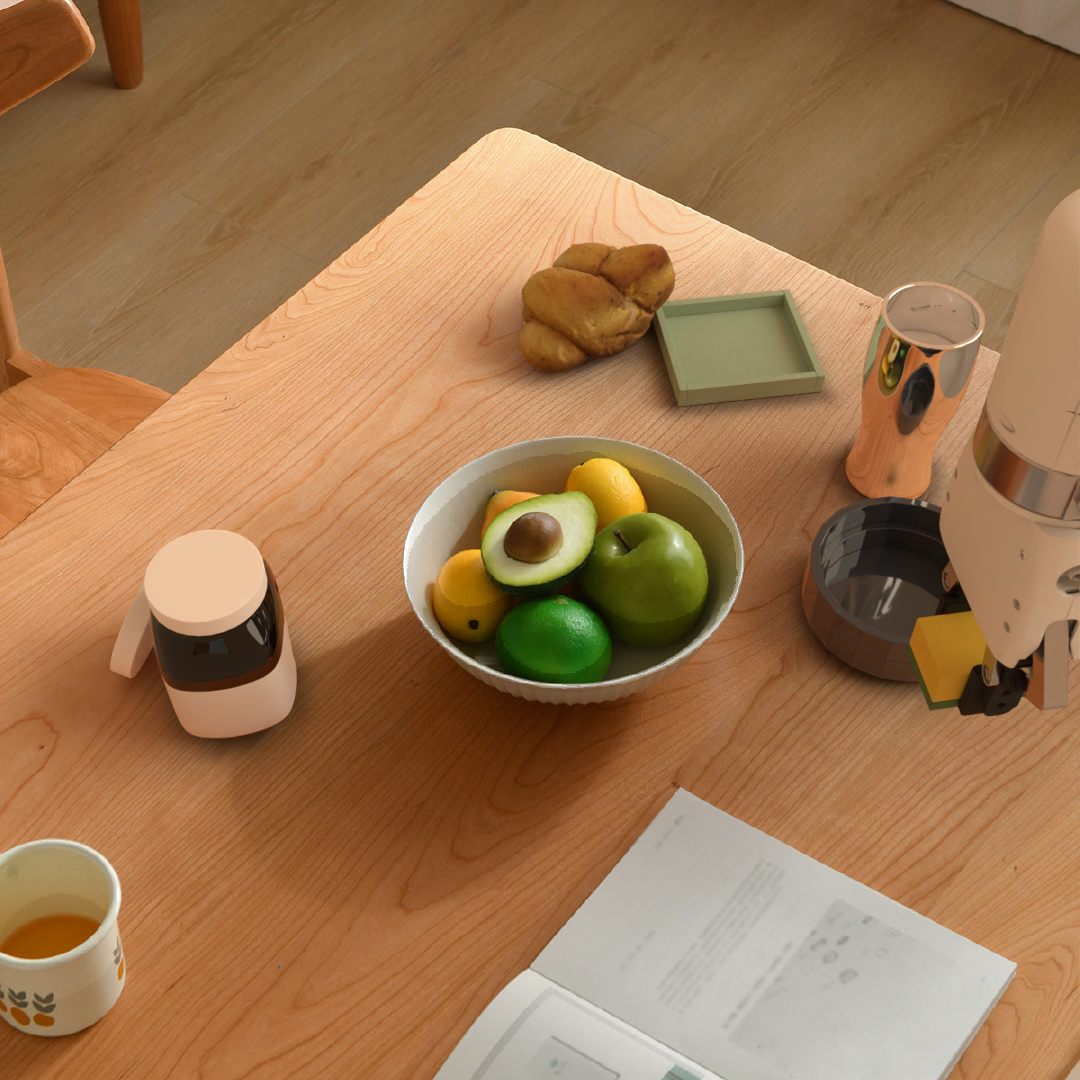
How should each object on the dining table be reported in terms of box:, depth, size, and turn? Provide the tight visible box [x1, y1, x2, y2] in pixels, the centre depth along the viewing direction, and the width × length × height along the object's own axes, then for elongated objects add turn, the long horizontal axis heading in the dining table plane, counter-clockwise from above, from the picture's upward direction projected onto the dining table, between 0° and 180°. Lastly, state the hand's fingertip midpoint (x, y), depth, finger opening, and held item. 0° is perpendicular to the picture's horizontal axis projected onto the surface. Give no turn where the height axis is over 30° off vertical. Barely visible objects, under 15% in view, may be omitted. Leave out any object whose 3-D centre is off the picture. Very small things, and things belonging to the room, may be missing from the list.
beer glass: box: [844, 281, 986, 499], centre depth 92 cm, size 7×7×15 cm
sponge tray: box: [651, 288, 826, 407], centre depth 106 cm, size 11×10×2 cm
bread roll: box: [518, 242, 676, 373], centre depth 105 cm, size 13×10×8 cm
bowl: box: [801, 496, 950, 683], centre depth 89 cm, size 12×12×4 cm
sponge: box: [907, 611, 1025, 711], centre depth 74 cm, size 6×4×3 cm, turn 98°
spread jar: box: [109, 528, 298, 740], centre depth 82 cm, size 12×11×12 cm
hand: (971, 669), depth 75 cm, fingers closed on sponge, 4 cm apart
